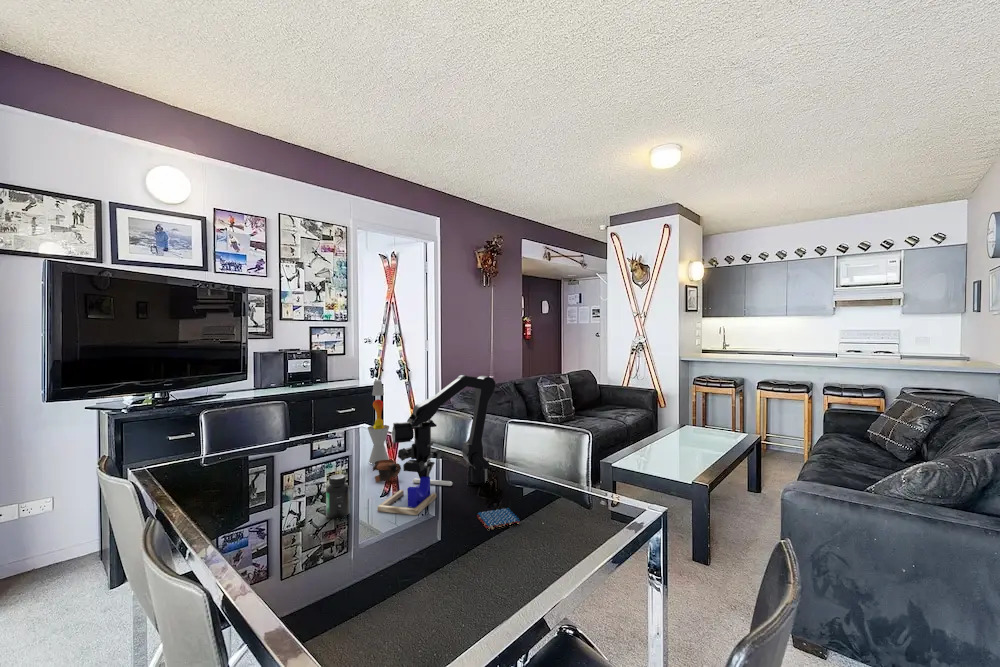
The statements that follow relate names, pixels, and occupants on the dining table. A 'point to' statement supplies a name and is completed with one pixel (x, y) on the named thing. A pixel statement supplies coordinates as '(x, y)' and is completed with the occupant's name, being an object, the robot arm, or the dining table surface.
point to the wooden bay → (402, 510)
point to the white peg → (435, 482)
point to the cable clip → (419, 492)
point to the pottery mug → (386, 470)
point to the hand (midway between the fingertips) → (423, 484)
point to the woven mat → (497, 518)
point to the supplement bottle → (337, 497)
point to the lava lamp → (378, 427)
